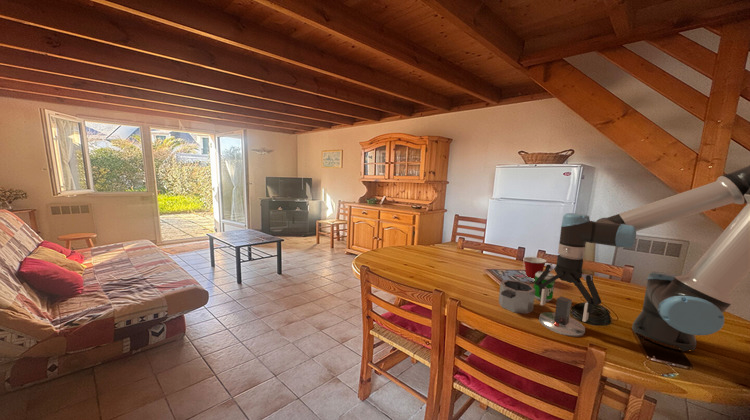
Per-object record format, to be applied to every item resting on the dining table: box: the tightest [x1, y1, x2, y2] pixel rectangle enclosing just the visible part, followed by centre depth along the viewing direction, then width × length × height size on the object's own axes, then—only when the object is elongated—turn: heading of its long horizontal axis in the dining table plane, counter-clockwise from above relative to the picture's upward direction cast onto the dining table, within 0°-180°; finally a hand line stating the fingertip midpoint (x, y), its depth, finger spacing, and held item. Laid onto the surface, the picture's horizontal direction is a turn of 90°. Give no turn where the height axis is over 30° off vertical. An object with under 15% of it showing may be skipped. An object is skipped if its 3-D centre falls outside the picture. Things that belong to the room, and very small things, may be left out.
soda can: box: [533, 270, 556, 303], centre depth 120 cm, size 8×8×12 cm
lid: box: [538, 295, 586, 338], centre depth 98 cm, size 14×14×10 cm
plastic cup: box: [522, 256, 547, 279], centre depth 141 cm, size 11×11×12 cm
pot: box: [498, 279, 536, 315], centre depth 112 cm, size 12×17×9 cm
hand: (562, 312), depth 98 cm, fingers open, 13 cm apart
